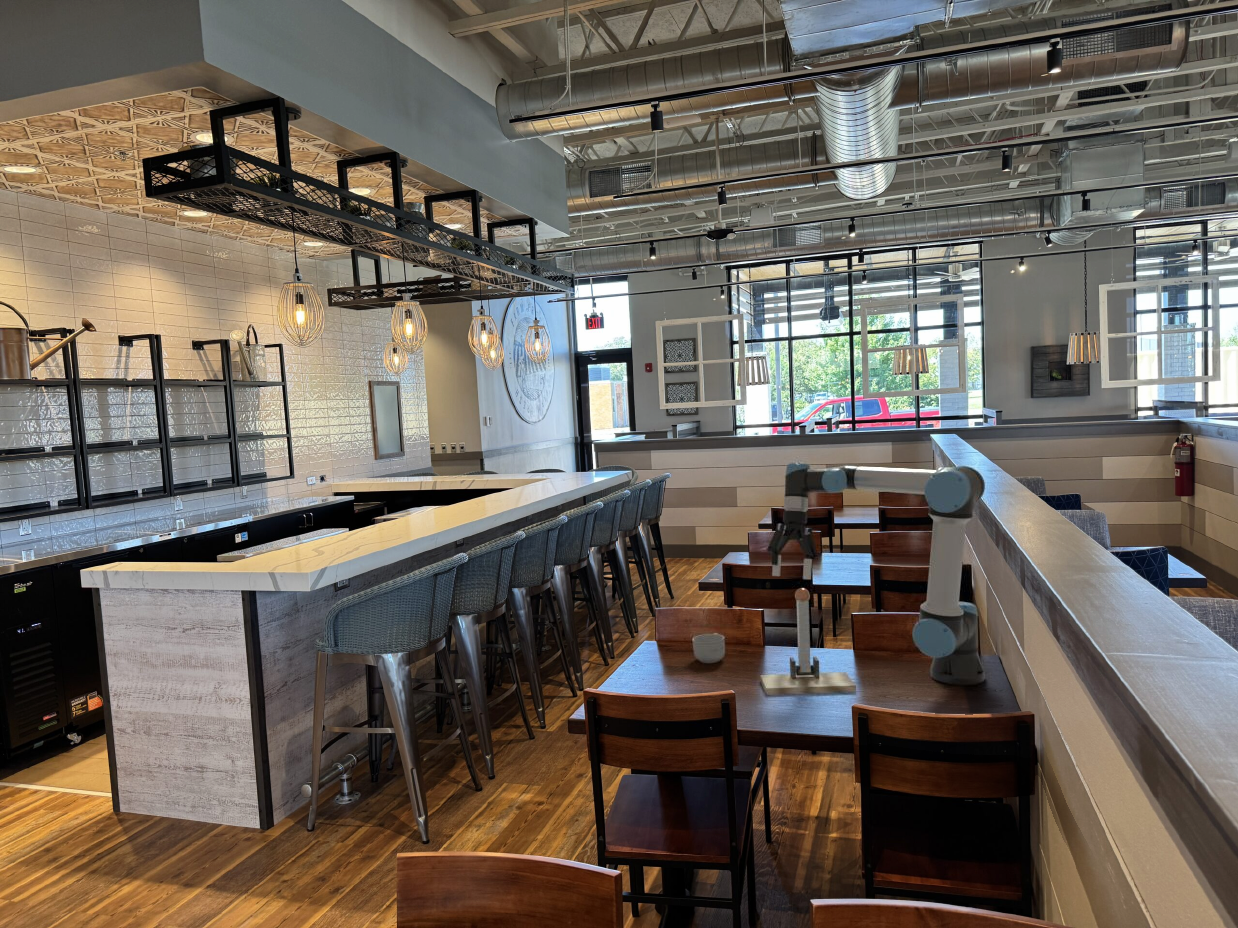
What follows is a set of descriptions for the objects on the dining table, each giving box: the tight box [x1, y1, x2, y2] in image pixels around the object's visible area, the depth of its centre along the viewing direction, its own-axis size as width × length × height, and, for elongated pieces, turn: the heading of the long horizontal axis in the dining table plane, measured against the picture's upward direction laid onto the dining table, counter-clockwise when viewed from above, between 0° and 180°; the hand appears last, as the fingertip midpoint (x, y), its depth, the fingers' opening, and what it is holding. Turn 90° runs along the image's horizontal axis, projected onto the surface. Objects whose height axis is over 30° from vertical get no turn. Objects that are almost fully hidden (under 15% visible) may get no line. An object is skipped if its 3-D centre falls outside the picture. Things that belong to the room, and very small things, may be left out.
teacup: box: [691, 632, 726, 664], centre depth 273 cm, size 14×11×8 cm
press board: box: [759, 656, 857, 696], centre depth 242 cm, size 26×12×8 cm, turn 88°
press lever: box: [794, 587, 814, 676], centre depth 245 cm, size 5×4×27 cm
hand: (791, 577), depth 257 cm, fingers open, 13 cm apart
